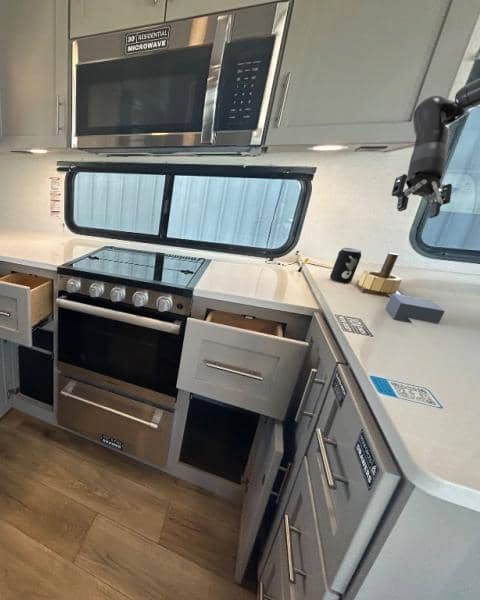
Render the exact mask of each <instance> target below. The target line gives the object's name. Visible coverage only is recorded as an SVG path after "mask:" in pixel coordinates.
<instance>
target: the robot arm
mask: <svg viewBox="0 0 480 600" xmlns="http://www.w3.org/2000/svg"><path fill="white" fill-rule="evenodd" d="M479 107H480V77H479V78H477V79H475V80H473V81H471V82H468V83H467V84H465V85H463V86H462V87H461V88H459V89H458V91H457V92H456V93H455V96H454V100H452V99H449V98H447V97H445V96H442V95H431V96H429V97H427V98H424V99H423V100H422V101H420V103H419V104H418V105H417V106H416V108H415V110H414V112H413V115H412V125H413V131H414V135H415V141H414V144H413V145H414V146H413V150H412V153H411V156H410V160H409V165H408V169H407V174H406V173H403V174H402V175H400V176H397V177H396V178H395V180H394V183H393V187H392V191H391V196H392V197H396V198H397V203H396V204H397V205H396V209H397V212H403V211H406V210H407V208H408V203H409V198H410V197H409V196H410V195H412V196H418V197H422V198H424V200H425V201H427V202H428V203H429V205H430V206H429V208H428V212H427V218H428V219H434V218H437V217H438V216H439V215H440V212H441V206H444V205H448V204H450V203H451V199H452V190H453V184H452V183H447V184H443V183H441V179H442V177H443V175H444V172H445V167H446V161H447V157H448V145H449V140H450V134H451V133H450V129H449V127H448V126H450V125H452V124H454V123H456V122H457V121H459V120H460V119H461V118H463V117H465V116H467V115H468V114H469V113H471V112H472V111H474V110H476V109H477V108H479ZM405 186H407V188H406V189H405ZM432 194H433V195H432Z"/></svg>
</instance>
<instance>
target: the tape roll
mask: <svg viewBox="0 0 480 600" xmlns="http://www.w3.org/2000/svg"><path fill="white" fill-rule="evenodd" d="M380 272H381V271H379V270H363V271H362V273H361V276H360V277H359V280H358V281H359V283H358V282H357V283H358V284H359V285H360V286H362V287H365V288H367V289H371V290H375V291H379V292H380V291H381V292H386V293H395V292H396V291H398V289H399V287H400V285H401V283H402V280H403V278H402V277H400V276H398V275H395V274H393V273H390V276H389V278H382V277H378V276H379V274H380Z"/></svg>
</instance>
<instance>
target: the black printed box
mask: <svg viewBox="0 0 480 600" xmlns="http://www.w3.org/2000/svg"><path fill="white" fill-rule="evenodd" d="M361 258H362V250H360V249H357V248H352V247H342V248H341V250H340V251H338V253H337V256H336V259H335V261H334V265H333V267H332V270H331V273H330V276H329V278H330V280H331V281H333V282H336V283H339V284H349V283H351V282H352V281H353V278H354V276H355V274H356V270H357V268H358V266H359V263H360V260H361Z"/></svg>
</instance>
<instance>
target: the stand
mask: <svg viewBox="0 0 480 600" xmlns="http://www.w3.org/2000/svg"><path fill="white" fill-rule="evenodd" d="M399 255H400V254H399V253H395V252H388V253H387V255H386V258H385V259H384V262H383V265H382V267H381V269H380V271H379V272H380V274H379V276H378V277H382V278H389V276H390V274H392V271H393V269H394V267H395V264H396V262H397V259H398V257H399ZM358 283H359V280H358V281H357V283H356V286H357V287H358V289H359V290H360V292H361V293H362V294H367V295H374V296H380V297H384V296H385V298H390V297H391V295H392V293H386V292H381V291H380V292H379V291H375V290H371V289H367V288H365V287H362V286H360V285H359V284H358ZM393 294H399V295H402V294H401V293H400V292H399V291H398V290H397V291H396V292H395V293H393Z"/></svg>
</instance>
